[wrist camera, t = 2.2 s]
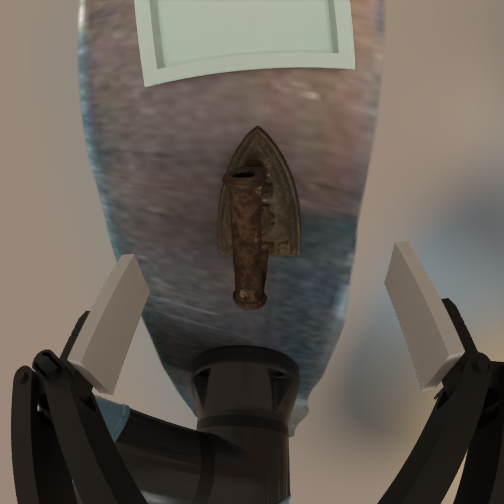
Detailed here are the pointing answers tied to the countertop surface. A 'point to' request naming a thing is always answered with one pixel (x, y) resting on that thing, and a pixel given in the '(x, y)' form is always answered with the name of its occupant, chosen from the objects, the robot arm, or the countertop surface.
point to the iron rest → (241, 36)
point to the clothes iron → (257, 215)
